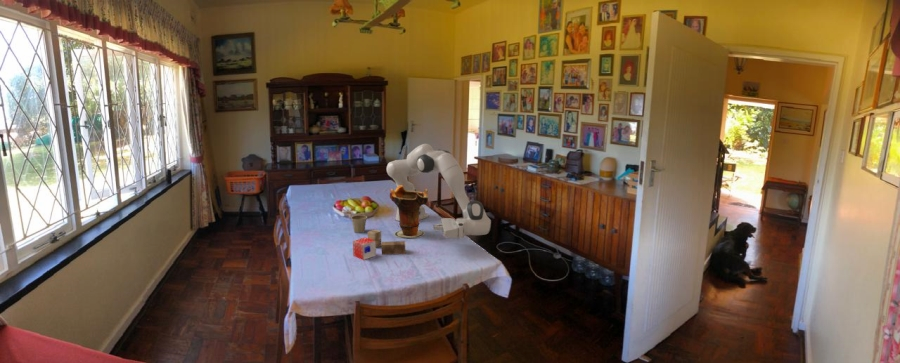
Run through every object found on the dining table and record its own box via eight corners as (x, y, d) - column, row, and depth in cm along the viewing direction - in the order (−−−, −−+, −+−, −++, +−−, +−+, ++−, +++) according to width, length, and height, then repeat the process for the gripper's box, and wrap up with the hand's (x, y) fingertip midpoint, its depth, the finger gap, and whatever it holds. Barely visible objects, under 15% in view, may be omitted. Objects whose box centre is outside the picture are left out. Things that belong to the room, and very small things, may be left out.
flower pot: (369, 229, 258) (369, 215, 257) (365, 234, 249) (364, 219, 247) (354, 228, 259) (353, 214, 257) (349, 233, 250) (348, 219, 248)
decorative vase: (425, 240, 238) (423, 191, 232) (386, 239, 243) (382, 191, 237) (434, 229, 258) (432, 183, 252) (398, 228, 263) (394, 183, 257)
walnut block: (405, 241, 224) (382, 241, 223) (405, 244, 219) (381, 245, 218) (405, 250, 225) (382, 250, 224) (405, 253, 220) (381, 254, 219)
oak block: (374, 243, 234) (374, 229, 233) (381, 245, 232) (381, 231, 230) (368, 246, 230) (367, 231, 229) (374, 248, 227) (374, 233, 226)
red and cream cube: (365, 251, 222) (365, 237, 221) (375, 255, 218) (375, 240, 216) (353, 256, 216) (352, 241, 215) (363, 260, 212) (362, 244, 210)
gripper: (457, 215, 232) (432, 215, 231) (462, 227, 213) (434, 228, 211) (457, 226, 234) (432, 226, 233) (462, 239, 214) (434, 240, 213)
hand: (433, 227), depth 222 cm, fingers closed
